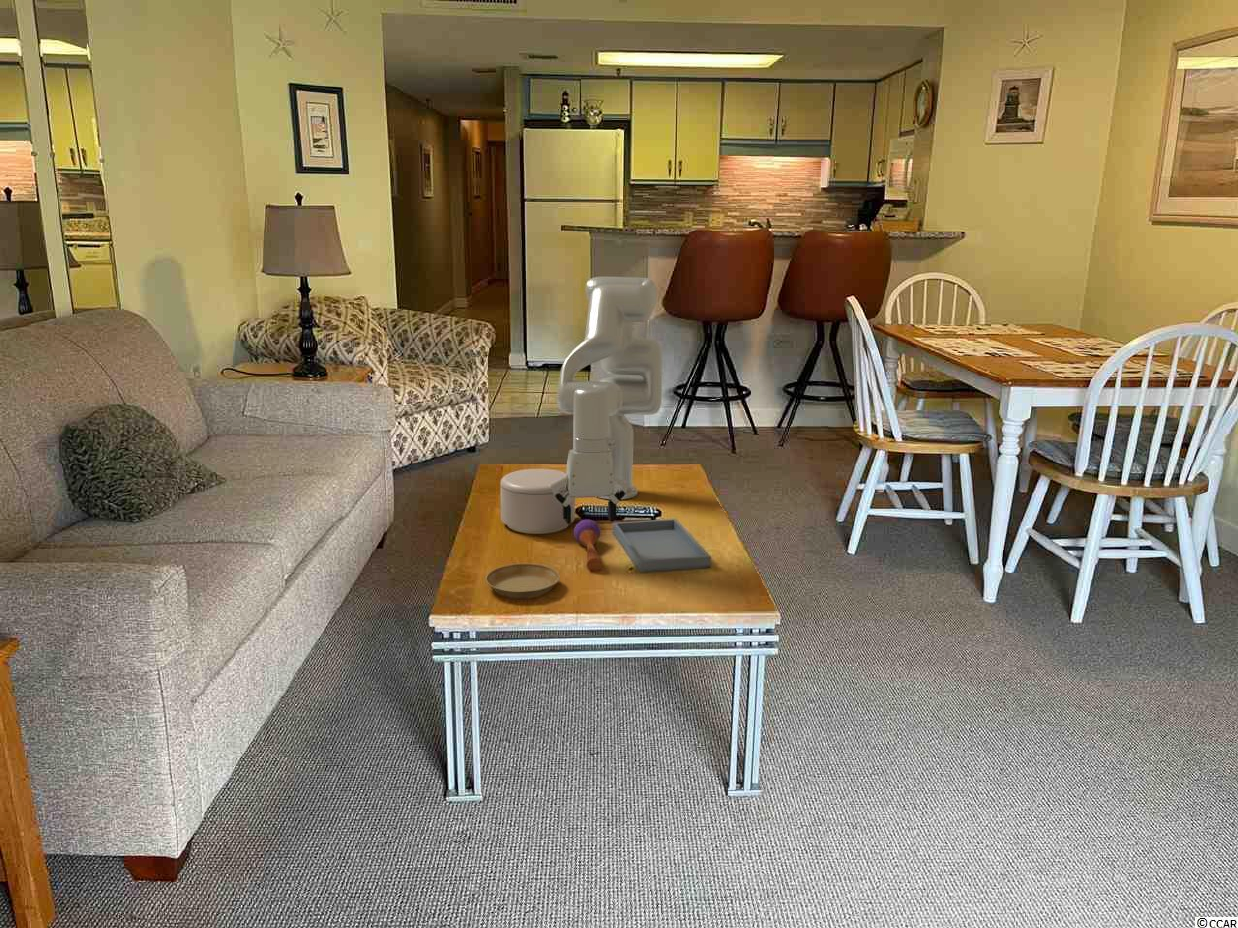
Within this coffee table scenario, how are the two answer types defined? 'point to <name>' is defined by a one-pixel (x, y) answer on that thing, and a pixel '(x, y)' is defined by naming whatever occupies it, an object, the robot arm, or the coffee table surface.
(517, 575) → the plant saucer
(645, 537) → the tray
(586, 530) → the kendama
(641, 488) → the coffee table surface
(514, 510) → the container
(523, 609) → the coffee table surface
